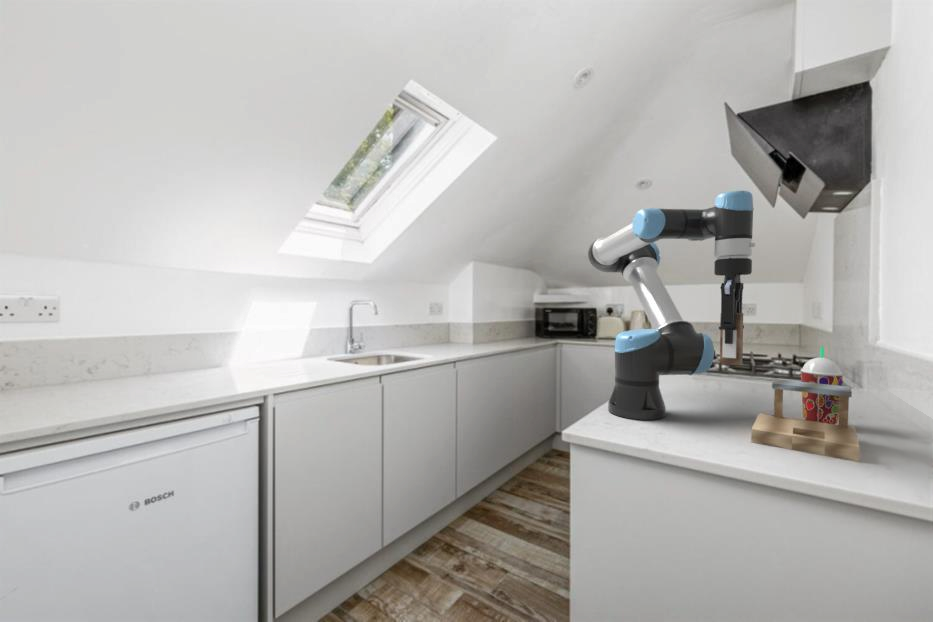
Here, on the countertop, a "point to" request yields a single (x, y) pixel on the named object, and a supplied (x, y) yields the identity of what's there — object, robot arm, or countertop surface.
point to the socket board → (808, 425)
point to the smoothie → (821, 404)
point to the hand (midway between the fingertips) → (731, 356)
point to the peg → (738, 344)
